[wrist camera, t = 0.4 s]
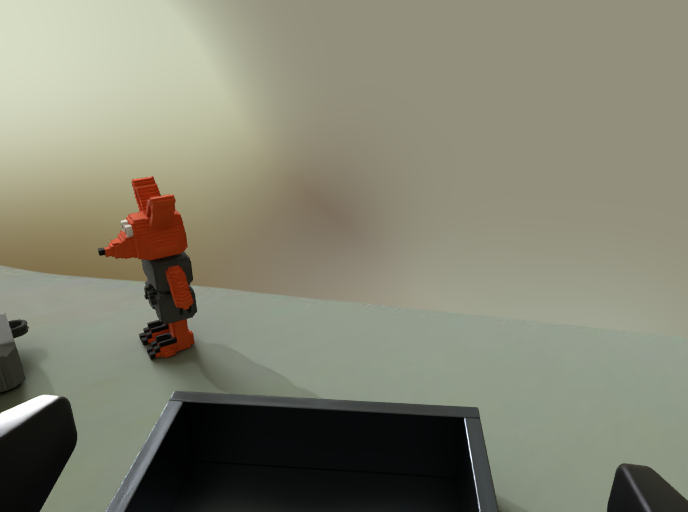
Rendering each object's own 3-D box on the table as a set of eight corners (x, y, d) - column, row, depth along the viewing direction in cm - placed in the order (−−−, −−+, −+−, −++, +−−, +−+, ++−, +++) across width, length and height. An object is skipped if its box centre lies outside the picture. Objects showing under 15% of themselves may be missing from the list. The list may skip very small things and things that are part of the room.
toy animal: (108, 330, 43) (77, 181, 38) (177, 312, 46) (157, 170, 41) (132, 385, 37) (99, 215, 32) (211, 360, 40) (192, 199, 35)
